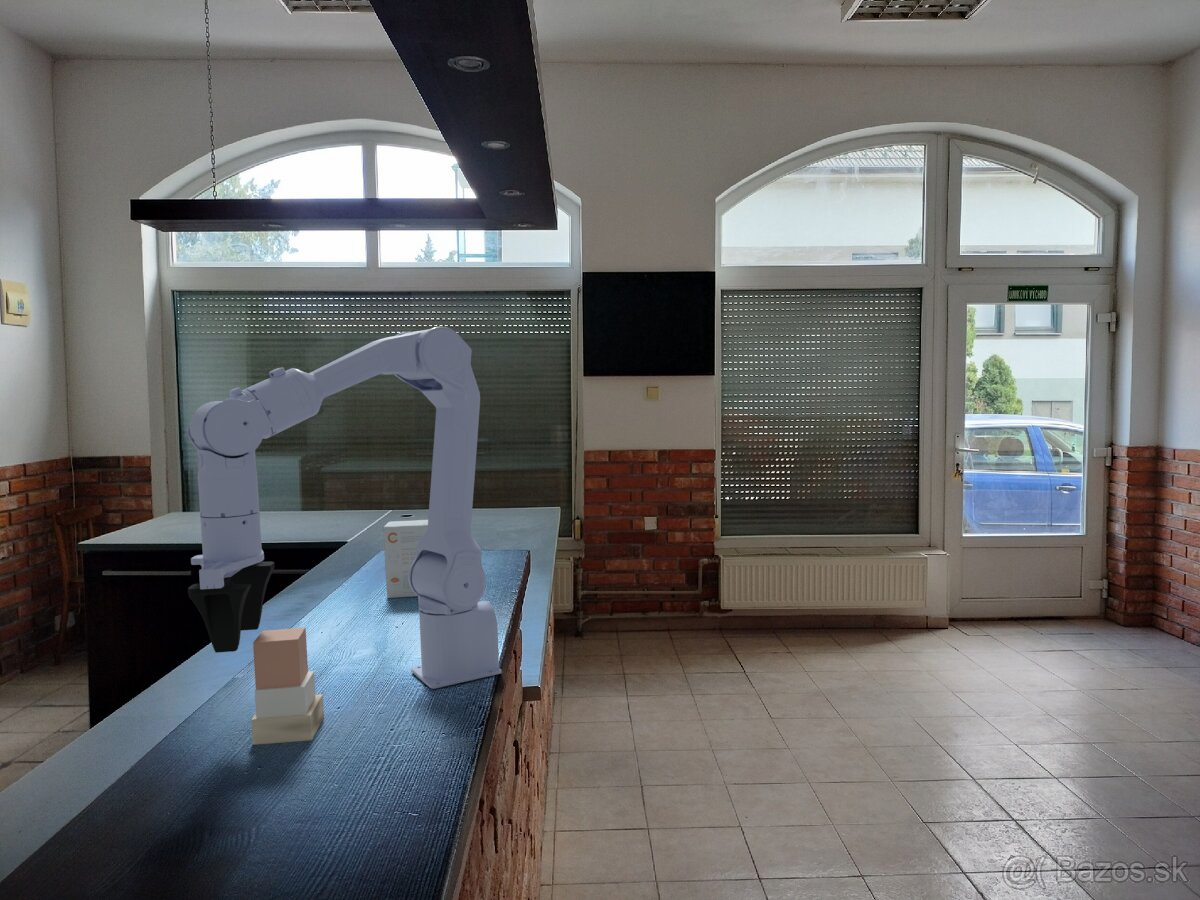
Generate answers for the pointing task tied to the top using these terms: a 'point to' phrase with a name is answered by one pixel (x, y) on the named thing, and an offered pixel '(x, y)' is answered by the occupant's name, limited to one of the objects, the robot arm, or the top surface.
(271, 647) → the terracotta block
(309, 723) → the tower base slab
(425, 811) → the top surface
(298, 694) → the tower top slab
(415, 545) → the small box
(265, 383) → the robot arm
